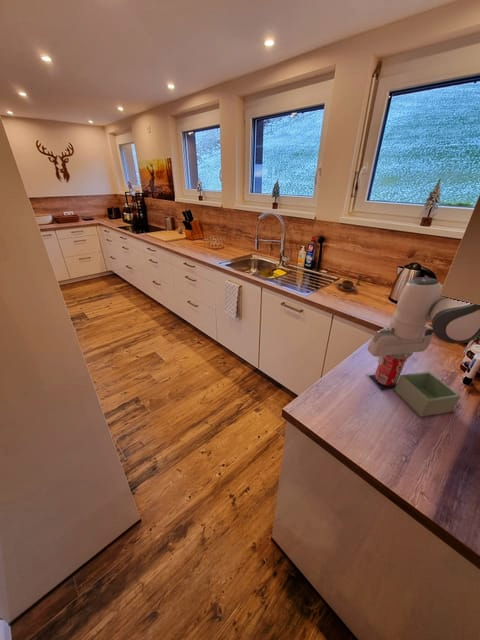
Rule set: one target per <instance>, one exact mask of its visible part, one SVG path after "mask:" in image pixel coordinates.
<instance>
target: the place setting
mask: <svg viewBox="0 0 480 640" xmlns="http://www.w3.org/2000/svg"><path fill="white" fill-rule="evenodd" d="M361 280H362V275H357V282H356V283H355V282H354V281H352V280H347V279H343V280H342V282H340V283H334V285H336V286H337V287H336V288H337V289H338V290H340V291H342V292H344V293H345V292H346V293H345V294H347V295H348V294H349V293H351V294H358V293H359V291H357V286H361V284H360V281H361ZM354 283H355V285H354Z"/></svg>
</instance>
